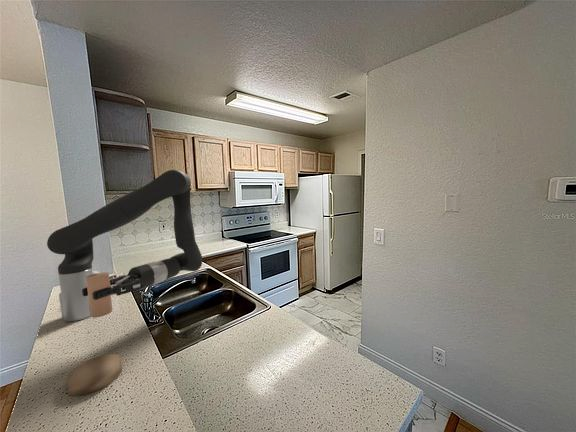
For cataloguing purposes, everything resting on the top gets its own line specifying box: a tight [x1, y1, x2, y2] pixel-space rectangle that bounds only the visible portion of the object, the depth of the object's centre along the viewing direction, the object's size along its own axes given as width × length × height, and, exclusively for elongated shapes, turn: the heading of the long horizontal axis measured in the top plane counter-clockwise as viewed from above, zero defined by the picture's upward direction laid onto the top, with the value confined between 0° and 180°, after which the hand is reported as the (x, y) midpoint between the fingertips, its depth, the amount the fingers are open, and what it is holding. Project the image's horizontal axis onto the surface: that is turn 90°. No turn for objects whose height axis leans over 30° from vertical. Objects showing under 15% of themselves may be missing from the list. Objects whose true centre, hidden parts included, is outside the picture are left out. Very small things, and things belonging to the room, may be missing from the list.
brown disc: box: [66, 353, 123, 397], centre depth 56 cm, size 10×10×2 cm
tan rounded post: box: [86, 272, 113, 319], centre depth 67 cm, size 5×5×11 cm
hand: (88, 294), depth 64 cm, fingers closed on tan rounded post, 5 cm apart
